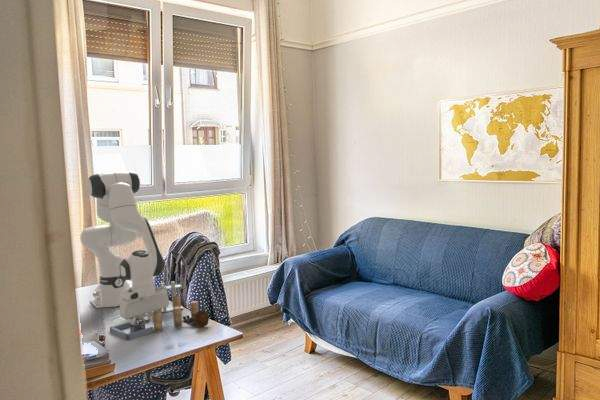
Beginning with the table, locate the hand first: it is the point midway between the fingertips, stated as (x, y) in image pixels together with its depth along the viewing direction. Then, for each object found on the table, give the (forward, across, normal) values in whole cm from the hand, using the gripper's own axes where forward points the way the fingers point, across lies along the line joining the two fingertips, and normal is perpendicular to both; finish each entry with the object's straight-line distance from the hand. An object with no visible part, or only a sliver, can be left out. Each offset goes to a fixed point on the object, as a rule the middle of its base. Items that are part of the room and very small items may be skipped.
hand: (146, 323), depth 199 cm
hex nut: (+2, +4, 0) cm, 4 cm away
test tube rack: (+2, -12, -15) cm, 19 cm away
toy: (+2, -14, +13) cm, 20 cm away
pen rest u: (+2, +6, 0) cm, 6 cm away
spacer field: (+2, -10, 0) cm, 10 cm away
